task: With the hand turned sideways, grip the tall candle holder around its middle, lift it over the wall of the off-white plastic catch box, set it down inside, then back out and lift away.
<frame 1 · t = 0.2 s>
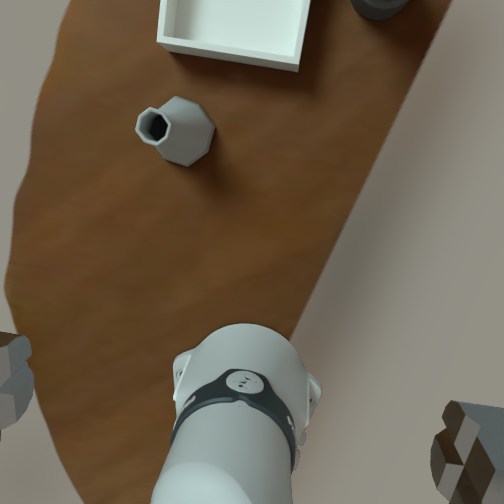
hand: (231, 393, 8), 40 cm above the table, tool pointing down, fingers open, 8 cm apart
flask: (182, 132, 46), on the table
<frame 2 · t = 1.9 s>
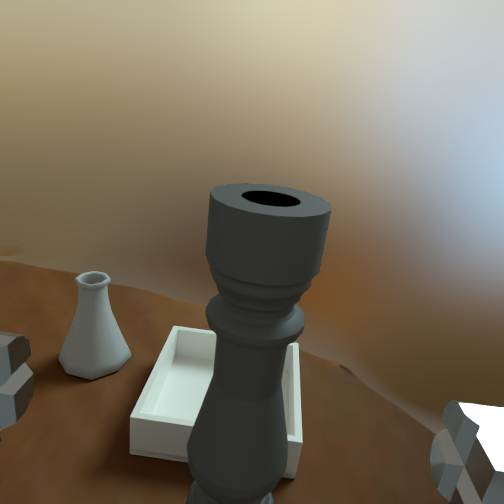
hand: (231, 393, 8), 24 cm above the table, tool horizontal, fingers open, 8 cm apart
flask: (95, 360, 46), on the table
catch box: (223, 407, 41), on the table
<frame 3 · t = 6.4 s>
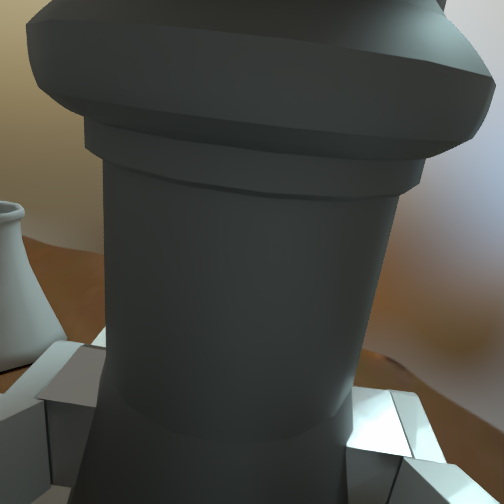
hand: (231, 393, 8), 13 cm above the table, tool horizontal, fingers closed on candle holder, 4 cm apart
flask: (9, 345, 30), on the table
catch box: (205, 421, 25), on the table
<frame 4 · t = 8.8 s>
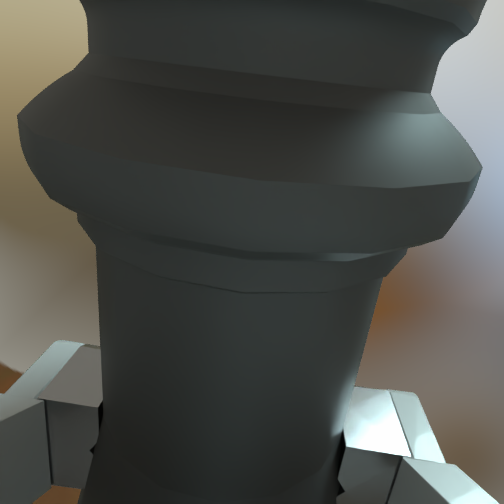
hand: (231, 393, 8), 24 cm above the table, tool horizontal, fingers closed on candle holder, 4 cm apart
when the fingers open (15 cm above the table, at t = 11.4 s): candle holder stays where it is, resting on catch box.
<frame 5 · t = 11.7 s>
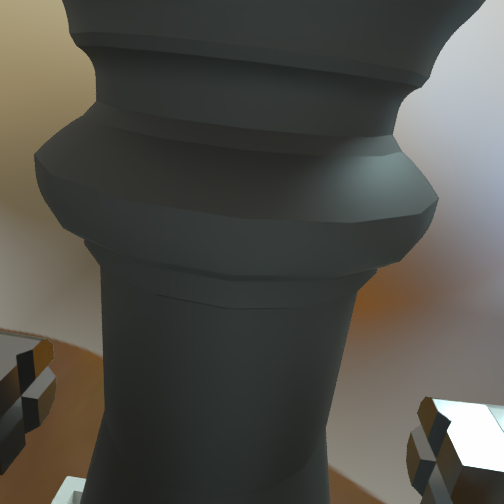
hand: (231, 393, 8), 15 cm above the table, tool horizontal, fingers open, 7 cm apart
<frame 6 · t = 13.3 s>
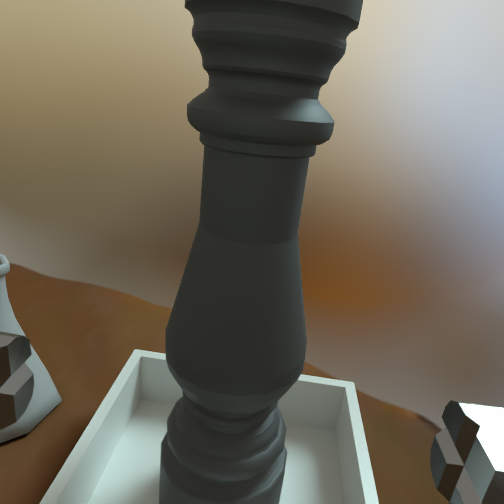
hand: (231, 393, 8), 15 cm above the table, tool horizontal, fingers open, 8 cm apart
candle holder: (219, 498, 22), resting on catch box
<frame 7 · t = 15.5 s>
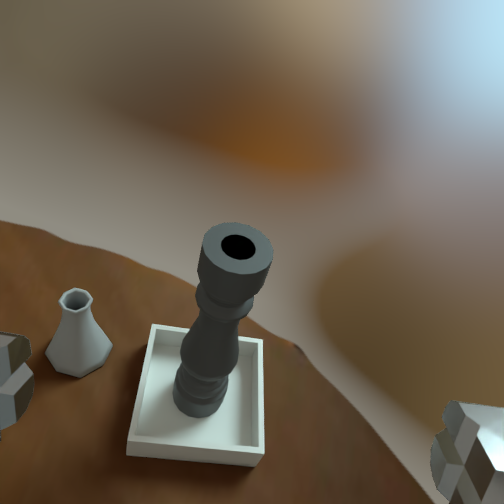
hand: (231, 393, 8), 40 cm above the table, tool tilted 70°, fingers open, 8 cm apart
flask: (80, 351, 51), on the table
candle holder: (198, 393, 50), resting on catch box
catch box: (198, 399, 50), on the table
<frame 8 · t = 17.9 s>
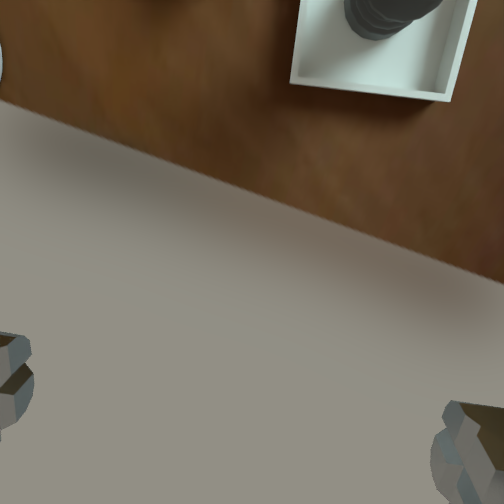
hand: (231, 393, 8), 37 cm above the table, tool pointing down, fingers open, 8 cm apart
candle holder: (378, 2, 37), resting on catch box
catch box: (378, 9, 37), on the table
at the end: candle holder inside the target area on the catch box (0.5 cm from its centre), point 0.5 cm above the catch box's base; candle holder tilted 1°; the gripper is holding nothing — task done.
